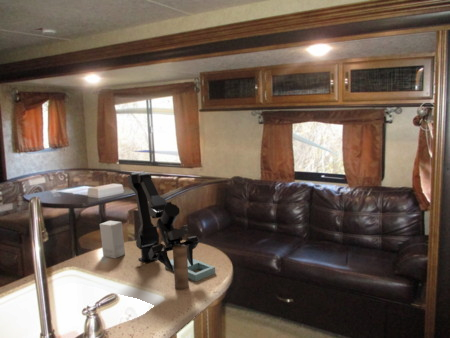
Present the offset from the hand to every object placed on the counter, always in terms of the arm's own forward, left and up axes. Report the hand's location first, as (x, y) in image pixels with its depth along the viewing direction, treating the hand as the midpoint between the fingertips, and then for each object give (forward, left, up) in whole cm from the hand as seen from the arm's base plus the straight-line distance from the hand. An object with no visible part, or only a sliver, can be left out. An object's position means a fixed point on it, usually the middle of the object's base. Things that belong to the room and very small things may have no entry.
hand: (182, 268), depth 128 cm
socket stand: (-11, +11, -8) cm, 17 cm away
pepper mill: (-1, 0, -8) cm, 8 cm away
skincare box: (-51, -2, -8) cm, 52 cm away
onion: (-48, +19, -8) cm, 52 cm away
